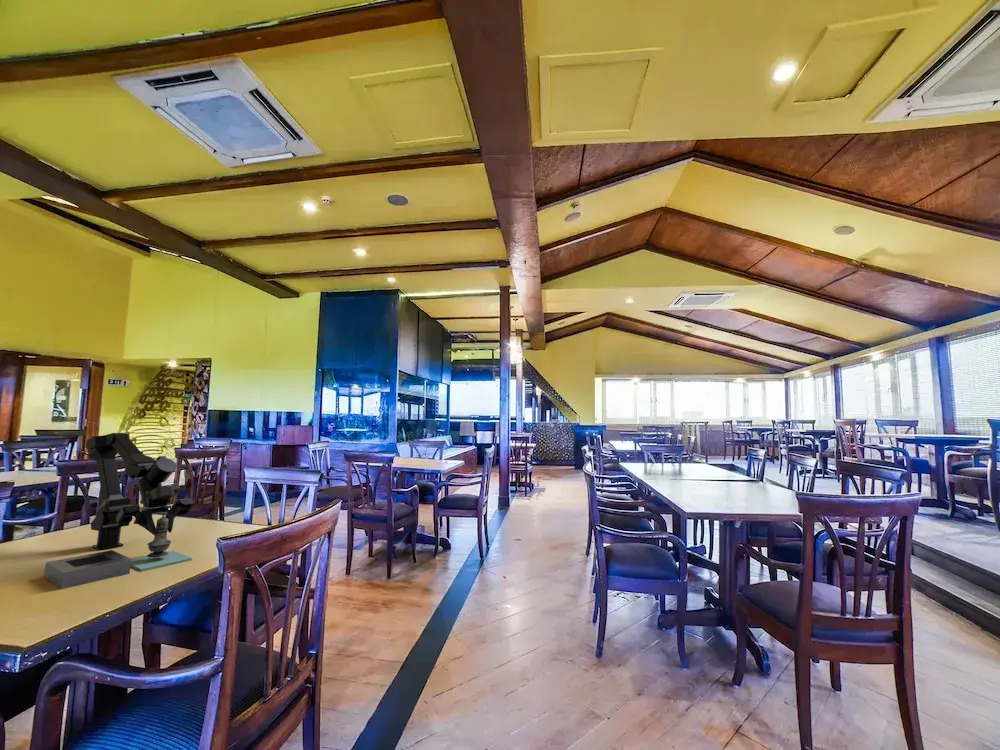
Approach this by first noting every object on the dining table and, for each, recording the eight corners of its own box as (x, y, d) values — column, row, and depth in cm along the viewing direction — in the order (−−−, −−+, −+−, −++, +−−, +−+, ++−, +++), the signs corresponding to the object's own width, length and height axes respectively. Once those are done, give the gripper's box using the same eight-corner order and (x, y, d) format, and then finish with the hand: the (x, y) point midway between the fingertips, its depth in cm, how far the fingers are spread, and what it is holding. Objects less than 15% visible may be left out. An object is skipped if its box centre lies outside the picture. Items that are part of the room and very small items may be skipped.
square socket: (43, 577, 116) (46, 562, 117) (110, 563, 128) (112, 550, 129) (60, 589, 109) (63, 572, 109) (129, 573, 121) (131, 558, 121)
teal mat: (122, 562, 129) (123, 560, 130) (172, 552, 141) (173, 550, 141) (141, 571, 123) (141, 569, 123) (192, 559, 134) (192, 557, 134)
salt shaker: (140, 557, 129) (146, 515, 131) (157, 551, 135) (162, 512, 136) (158, 558, 129) (164, 517, 130) (174, 552, 135) (180, 513, 136)
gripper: (125, 478, 129) (135, 522, 122) (194, 473, 145) (207, 512, 138) (111, 502, 132) (120, 546, 125) (180, 494, 148) (192, 533, 141)
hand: (163, 533), depth 132 cm, fingers closed on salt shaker, 4 cm apart
